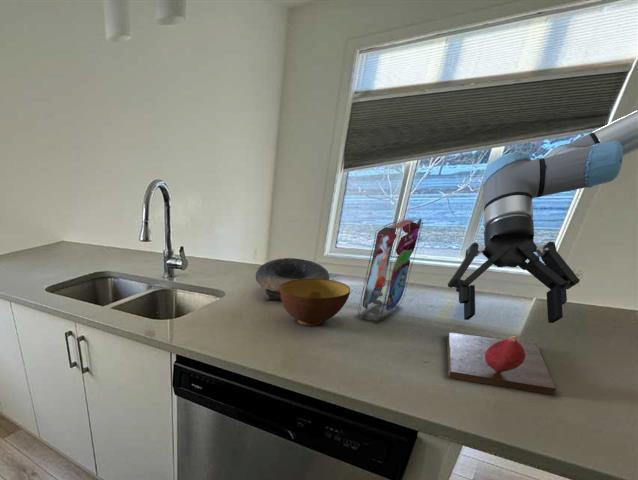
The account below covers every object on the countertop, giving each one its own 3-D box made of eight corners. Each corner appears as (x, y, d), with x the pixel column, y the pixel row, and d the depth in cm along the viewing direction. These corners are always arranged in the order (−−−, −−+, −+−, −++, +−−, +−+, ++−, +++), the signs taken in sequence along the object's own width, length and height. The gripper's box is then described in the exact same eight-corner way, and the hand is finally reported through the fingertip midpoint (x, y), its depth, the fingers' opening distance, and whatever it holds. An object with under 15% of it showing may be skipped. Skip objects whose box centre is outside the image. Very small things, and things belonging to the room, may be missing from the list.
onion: (479, 375, 81) (494, 339, 77) (478, 363, 85) (492, 328, 81) (518, 381, 78) (535, 344, 74) (515, 368, 82) (531, 333, 78)
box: (390, 295, 128) (411, 213, 116) (412, 299, 124) (436, 214, 112) (355, 318, 115) (375, 228, 102) (379, 323, 110) (402, 230, 98)
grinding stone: (239, 300, 139) (242, 272, 133) (277, 275, 151) (281, 249, 145) (303, 320, 125) (309, 290, 119) (339, 291, 138) (346, 263, 131)
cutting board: (552, 395, 76) (556, 388, 75) (448, 377, 84) (450, 371, 84) (533, 349, 92) (536, 343, 91) (446, 338, 100) (448, 332, 99)
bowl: (319, 307, 124) (325, 275, 119) (357, 328, 109) (365, 292, 104) (266, 315, 122) (269, 283, 117) (297, 337, 107) (302, 301, 102)
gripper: (572, 234, 83) (579, 329, 79) (430, 237, 92) (429, 323, 87) (600, 210, 77) (610, 313, 72) (444, 216, 85) (444, 308, 80)
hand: (511, 318), depth 79 cm, fingers open, 13 cm apart
